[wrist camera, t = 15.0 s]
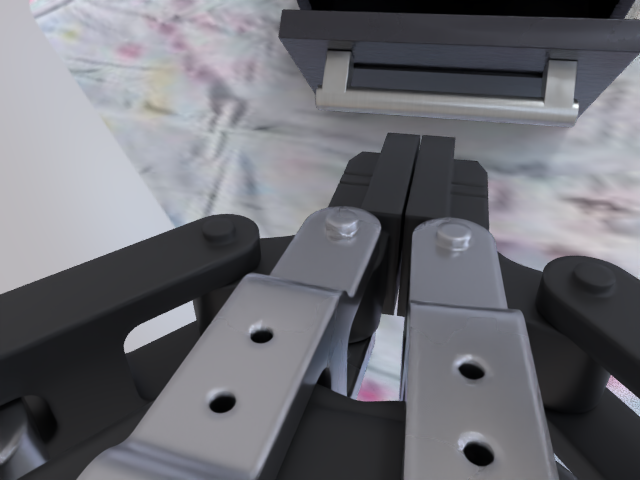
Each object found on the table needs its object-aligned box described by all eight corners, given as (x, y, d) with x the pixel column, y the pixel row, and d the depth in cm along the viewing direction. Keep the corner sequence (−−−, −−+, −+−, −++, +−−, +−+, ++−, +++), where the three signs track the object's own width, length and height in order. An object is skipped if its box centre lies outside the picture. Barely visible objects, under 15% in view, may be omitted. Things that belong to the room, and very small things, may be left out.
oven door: (566, 169, 37) (634, 118, 25) (318, 148, 41) (270, 95, 29) (574, 103, 37) (645, 18, 25) (326, 88, 41) (281, 8, 29)
